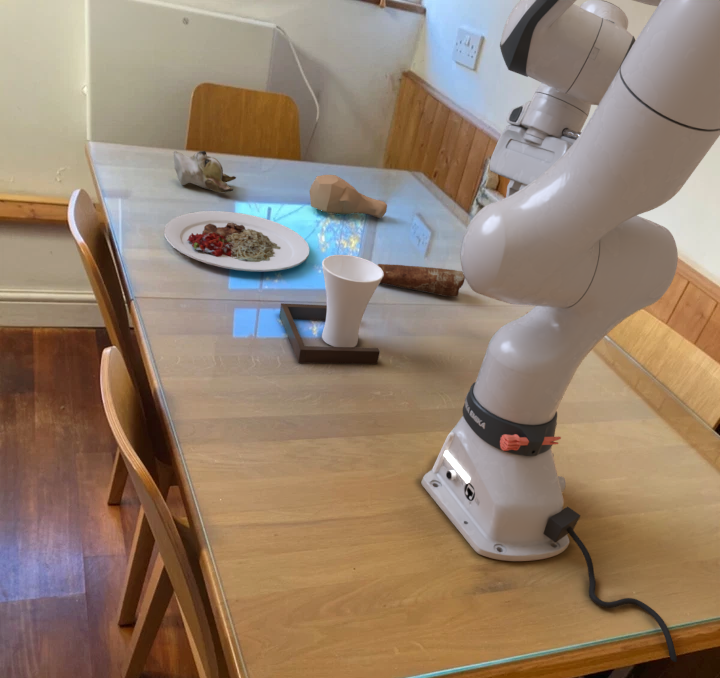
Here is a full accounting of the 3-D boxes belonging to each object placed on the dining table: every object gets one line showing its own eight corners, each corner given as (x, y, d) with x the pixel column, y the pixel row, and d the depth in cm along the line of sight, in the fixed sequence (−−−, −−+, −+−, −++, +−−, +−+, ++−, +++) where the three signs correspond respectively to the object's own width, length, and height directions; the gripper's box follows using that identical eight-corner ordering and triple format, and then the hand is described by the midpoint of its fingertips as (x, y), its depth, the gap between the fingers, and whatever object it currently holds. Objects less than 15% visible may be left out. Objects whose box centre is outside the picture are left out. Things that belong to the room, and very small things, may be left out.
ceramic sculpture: (177, 137, 169) (239, 152, 172) (174, 174, 174) (234, 188, 177) (171, 150, 161) (236, 166, 164) (168, 188, 166) (231, 202, 169)
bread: (459, 303, 147) (466, 278, 144) (370, 285, 145) (375, 260, 142) (456, 290, 152) (463, 266, 149) (370, 273, 150) (376, 248, 147)
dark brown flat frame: (377, 364, 121) (380, 351, 119) (298, 362, 116) (300, 349, 114) (351, 318, 132) (354, 306, 131) (279, 315, 128) (280, 303, 126)
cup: (322, 355, 119) (335, 281, 111) (302, 325, 126) (313, 253, 118) (377, 353, 123) (394, 282, 115) (355, 324, 131) (369, 255, 122)
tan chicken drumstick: (300, 203, 177) (309, 165, 173) (373, 221, 184) (383, 186, 180) (309, 211, 168) (318, 172, 164) (385, 230, 175) (396, 193, 171)
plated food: (333, 253, 155) (335, 238, 153) (256, 293, 133) (258, 276, 131) (222, 209, 163) (223, 195, 161) (132, 240, 140) (132, 223, 138)
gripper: (605, 143, 101) (558, 236, 106) (534, 124, 117) (496, 206, 123) (573, 125, 98) (526, 222, 104) (505, 108, 114) (467, 193, 120)
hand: (509, 213), depth 113 cm, fingers closed
